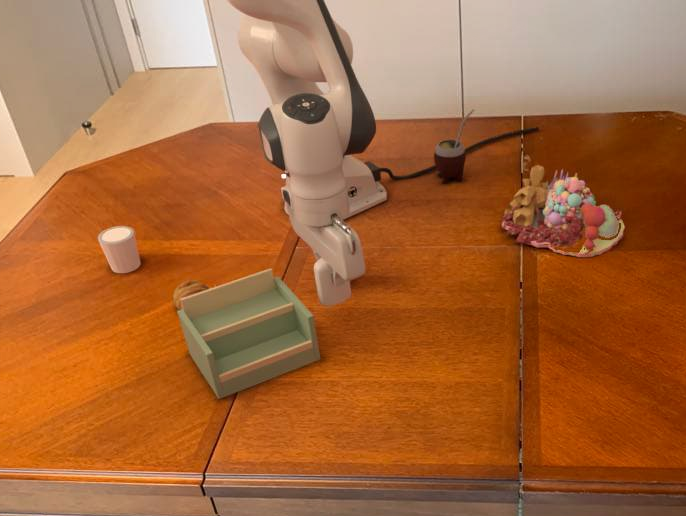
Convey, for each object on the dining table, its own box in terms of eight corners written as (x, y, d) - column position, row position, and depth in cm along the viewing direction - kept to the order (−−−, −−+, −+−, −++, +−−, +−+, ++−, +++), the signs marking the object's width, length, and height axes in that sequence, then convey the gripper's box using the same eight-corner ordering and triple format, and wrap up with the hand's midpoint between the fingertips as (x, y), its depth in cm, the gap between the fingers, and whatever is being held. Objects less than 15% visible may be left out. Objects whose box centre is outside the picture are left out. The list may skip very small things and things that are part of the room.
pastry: (224, 315, 146) (219, 297, 143) (188, 327, 143) (182, 310, 141) (206, 291, 152) (201, 273, 149) (171, 302, 149) (166, 285, 147)
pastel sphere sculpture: (486, 242, 161) (487, 200, 155) (521, 190, 177) (523, 149, 171) (611, 264, 153) (616, 220, 147) (635, 207, 169) (641, 165, 163)
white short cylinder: (134, 276, 157) (123, 244, 152) (101, 273, 158) (90, 242, 153) (149, 257, 162) (140, 226, 157) (118, 255, 163) (108, 224, 158)
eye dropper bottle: (319, 293, 141) (309, 233, 133) (351, 290, 141) (343, 230, 133) (318, 307, 138) (308, 247, 130) (351, 305, 138) (343, 244, 130)
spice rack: (286, 319, 144) (276, 266, 137) (320, 359, 135) (312, 305, 128) (189, 354, 137) (173, 300, 130) (218, 399, 128) (203, 344, 121)
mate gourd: (429, 181, 182) (426, 115, 172) (446, 167, 187) (445, 102, 177) (457, 188, 179) (456, 122, 169) (475, 174, 184) (475, 108, 174)
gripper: (370, 223, 122) (378, 299, 131) (310, 173, 135) (321, 245, 144) (333, 237, 119) (344, 312, 129) (276, 184, 132) (289, 257, 142)
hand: (332, 276), depth 137 cm, fingers closed on eye dropper bottle, 3 cm apart
